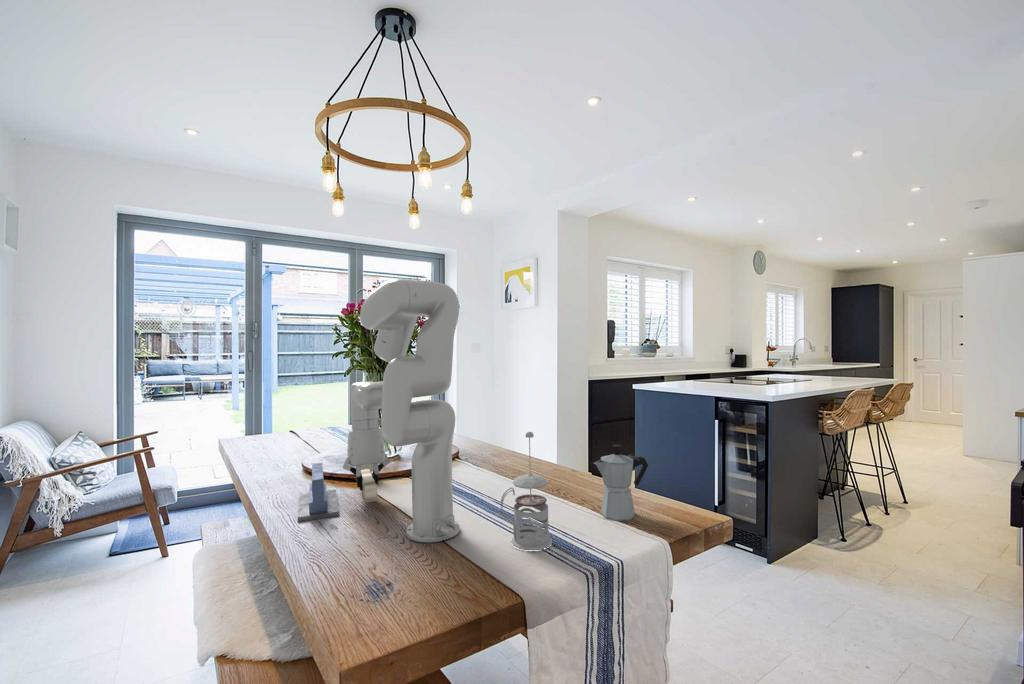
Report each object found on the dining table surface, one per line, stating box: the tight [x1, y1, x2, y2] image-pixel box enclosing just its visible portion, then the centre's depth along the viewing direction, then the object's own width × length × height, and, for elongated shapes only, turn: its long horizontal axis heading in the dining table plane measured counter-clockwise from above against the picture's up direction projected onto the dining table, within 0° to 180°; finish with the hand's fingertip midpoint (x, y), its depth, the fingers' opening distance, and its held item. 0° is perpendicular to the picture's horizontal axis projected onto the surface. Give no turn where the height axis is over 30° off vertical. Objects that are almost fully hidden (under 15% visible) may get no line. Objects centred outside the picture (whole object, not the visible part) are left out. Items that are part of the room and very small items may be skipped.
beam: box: [361, 469, 378, 503], centre depth 139 cm, size 20×3×4 cm, turn 22°
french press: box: [500, 431, 553, 550], centre depth 108 cm, size 10×12×25 cm
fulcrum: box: [297, 462, 340, 523], centre depth 134 cm, size 20×10×10 cm, turn 22°
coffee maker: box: [593, 444, 649, 522], centre depth 124 cm, size 15×9×18 cm, turn 102°
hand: (367, 487), depth 139 cm, fingers closed on beam, 3 cm apart
